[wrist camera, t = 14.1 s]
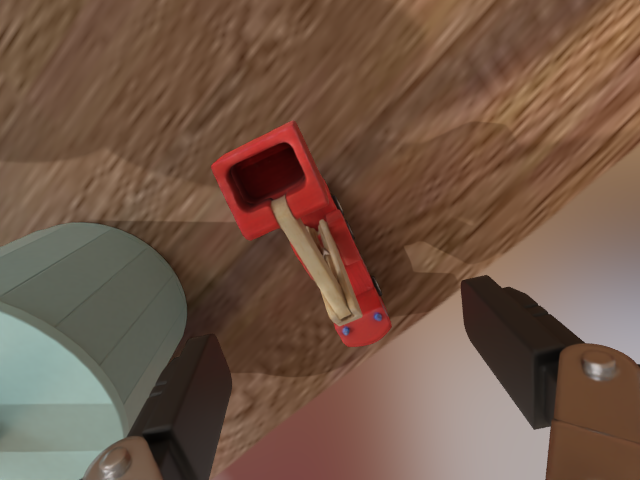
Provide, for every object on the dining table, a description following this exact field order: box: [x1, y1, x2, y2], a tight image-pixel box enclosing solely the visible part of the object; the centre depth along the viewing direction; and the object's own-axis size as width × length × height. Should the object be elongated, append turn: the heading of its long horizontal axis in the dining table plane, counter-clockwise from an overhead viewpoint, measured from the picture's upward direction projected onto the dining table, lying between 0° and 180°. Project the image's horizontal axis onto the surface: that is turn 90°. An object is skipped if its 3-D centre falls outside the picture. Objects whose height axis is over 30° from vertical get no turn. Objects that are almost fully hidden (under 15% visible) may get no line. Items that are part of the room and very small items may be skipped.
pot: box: [0, 222, 187, 431], centre depth 19 cm, size 12×12×10 cm
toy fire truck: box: [211, 121, 392, 347], centre depth 18 cm, size 3×14×10 cm, turn 26°
